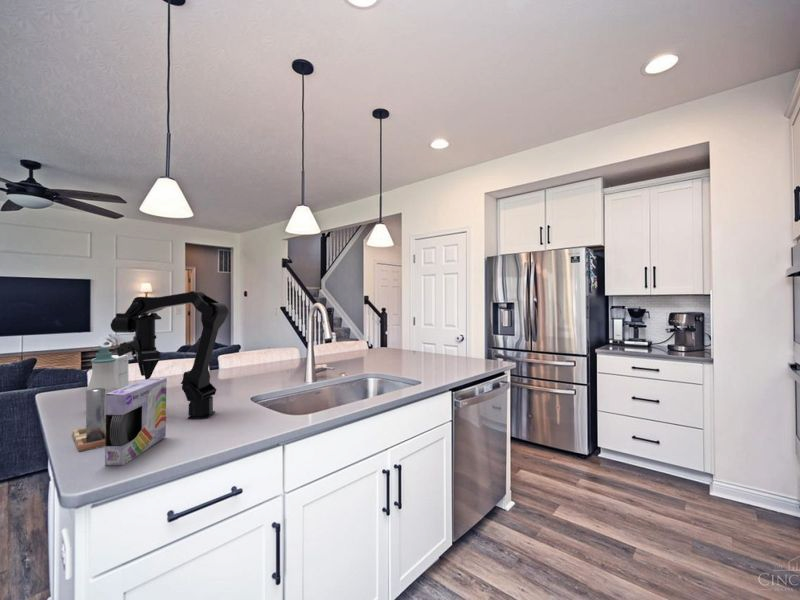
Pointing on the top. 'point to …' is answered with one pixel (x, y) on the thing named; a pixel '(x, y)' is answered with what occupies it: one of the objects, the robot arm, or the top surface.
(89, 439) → the steel pin
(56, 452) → the top surface
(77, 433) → the socket rail
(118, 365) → the supplement box
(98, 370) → the soap bottle
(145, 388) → the cake pan box
